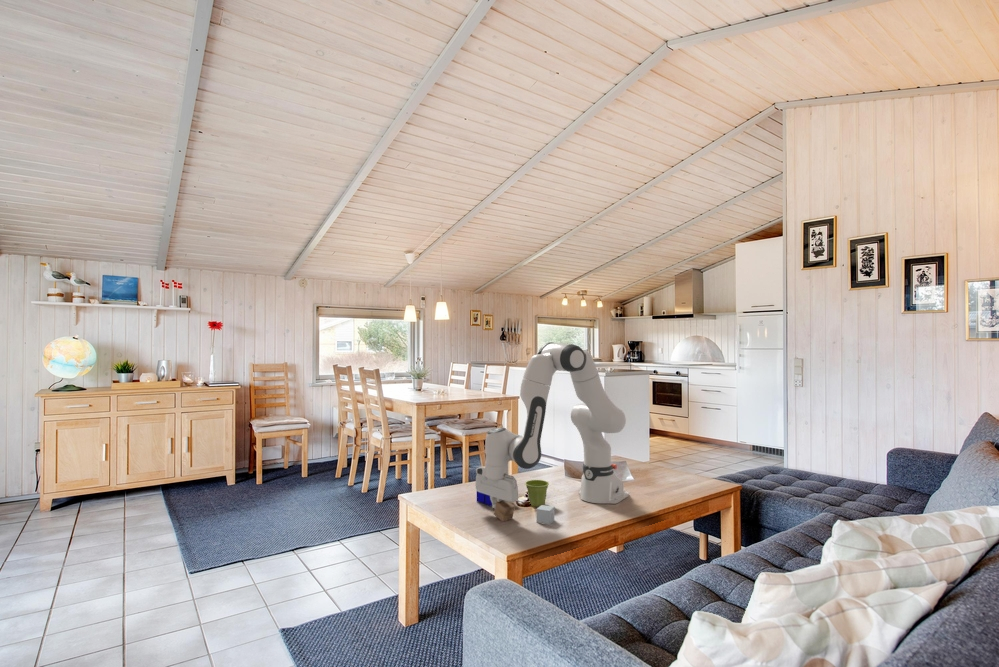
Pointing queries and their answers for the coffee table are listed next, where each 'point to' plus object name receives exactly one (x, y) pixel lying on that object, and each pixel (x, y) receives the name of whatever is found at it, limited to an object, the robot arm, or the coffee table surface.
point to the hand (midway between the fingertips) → (496, 508)
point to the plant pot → (537, 492)
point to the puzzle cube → (484, 498)
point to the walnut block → (504, 510)
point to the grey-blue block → (545, 514)
